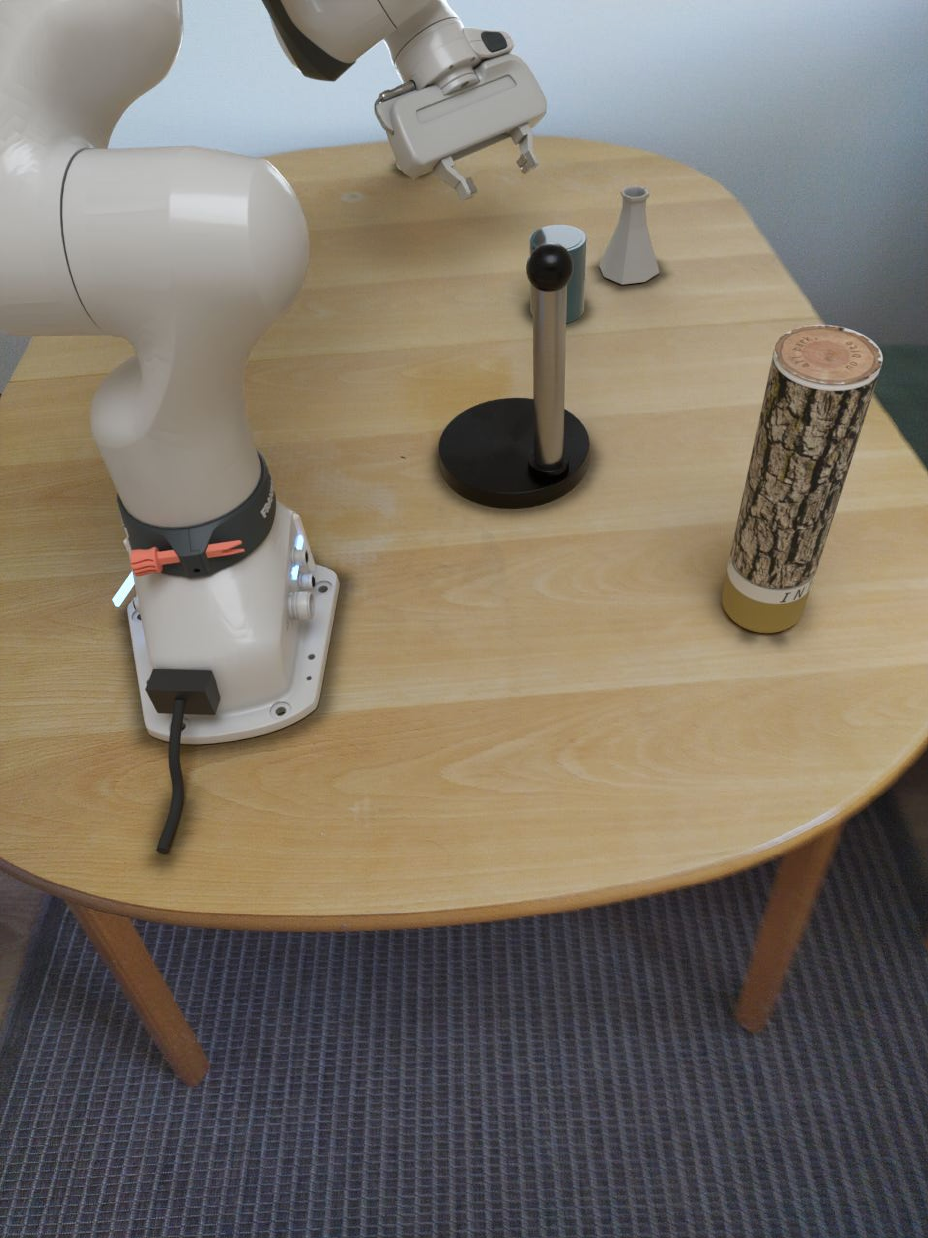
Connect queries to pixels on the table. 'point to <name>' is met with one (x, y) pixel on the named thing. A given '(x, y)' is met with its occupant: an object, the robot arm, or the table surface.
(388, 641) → the table surface
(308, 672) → the robot arm
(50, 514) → the table surface
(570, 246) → the cup
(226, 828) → the table surface
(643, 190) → the flask
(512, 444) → the towel holder
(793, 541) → the paper tube
